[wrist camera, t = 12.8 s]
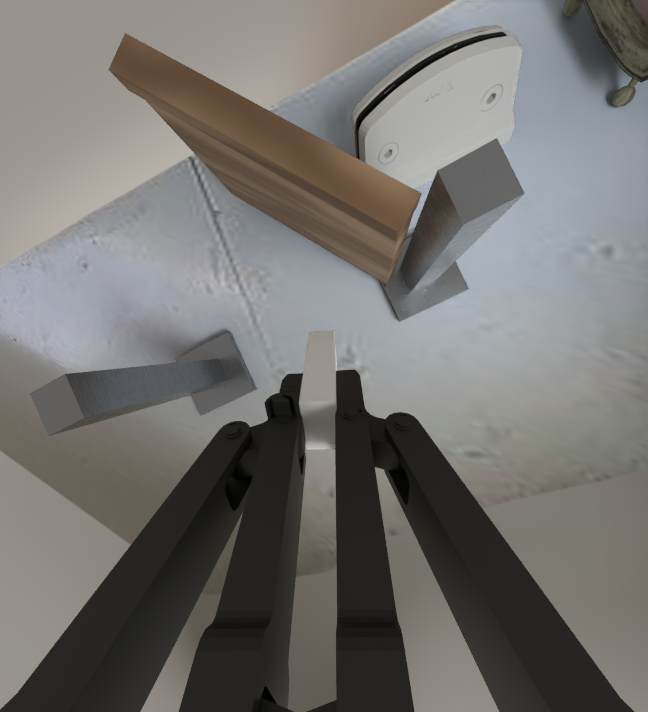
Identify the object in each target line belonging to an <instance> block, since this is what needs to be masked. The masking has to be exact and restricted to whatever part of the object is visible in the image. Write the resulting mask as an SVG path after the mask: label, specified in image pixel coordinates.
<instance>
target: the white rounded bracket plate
mask: <svg viewBox="0 0 648 712" xmlns="http://www.w3.org/2000/svg"><path fill="white" fill-rule="evenodd" d="M522 54H523V49H522V47H521V45H520V43H519V41H518V39H517V37H515V36H510V33H509V30H508V29H507V28H503V27H500V26H496V25H495V26H484V27H479V28H474V29H470V30H466V31H463V32H460V33H457V34H454V35H452V36H449V37H447V38H445V39H442V40H440V41H438V42H436V43H434V44H432V45H430V46H429V47H427V48H425V49H423V50H421V51H420V52H418V53H417V54H415V55H414V56H412V57H410V58H409V59H408V60H406V61H405V62H403V63H402V64H401V65H399V66H398V67H397V68H395V69H394V70H393V71H392V72H390V73H389V74H388V75H387V76H386V77H384V78H383V79H382V80H381V81H380V82H379V83H378V84H376V85H375V86H374V87H373V88H372V89H371V90H370V91H369V92H368V93H367V94H366V95H365V96H364V98H363V99H362V100H361V101H360V102H359V103H358V104H357V105H356V106H355V108H354V110H353V112H352V130H353V144H354V157H355V158H357V159H359V160H361V161H363V162H364V163H366V164H368V165H370V166H372V167H374V168H376V169H377V170H379V171H381V172H383V173H385V174H387V175H389V176H390V177H392V178H394V179H396V180H398V181H400V182H401V183H403V184H405V185H407V186H409V187H411V188H413V189H416V188H418V187H420V186H422V185H424V184H426V183H428V182H430V181H432V180H434V178H435V175H436V173H437V170H439V169H441V168H443V167H445V166H447V165H448V164H450V163H452V162H454V161H456V160H457V159H459V158H461V157H463V156H465V155H467V154H468V153H470V152H472V151H474V150H476V149H478V148H479V147H481V146H483V145H485V144H487V143H489V142H490V141H492V140H494V139H496V138H497V139H498V141H499V143H500V145H503V144H505V143H507V142H509V141H511V137H512V134H513V131H514V128H515V118H514V112H513V106H514V100H515V95H516V89H517V83H518V77H519V72H520V66H521V60H522Z"/></svg>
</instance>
